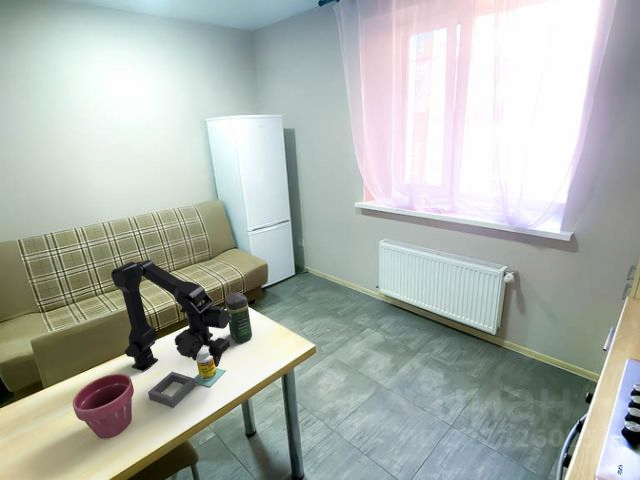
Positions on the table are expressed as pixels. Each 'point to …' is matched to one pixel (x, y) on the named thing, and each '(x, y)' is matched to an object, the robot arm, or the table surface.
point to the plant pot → (106, 405)
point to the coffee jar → (238, 317)
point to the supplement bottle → (205, 364)
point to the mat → (210, 382)
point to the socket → (157, 390)
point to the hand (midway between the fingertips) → (206, 363)
